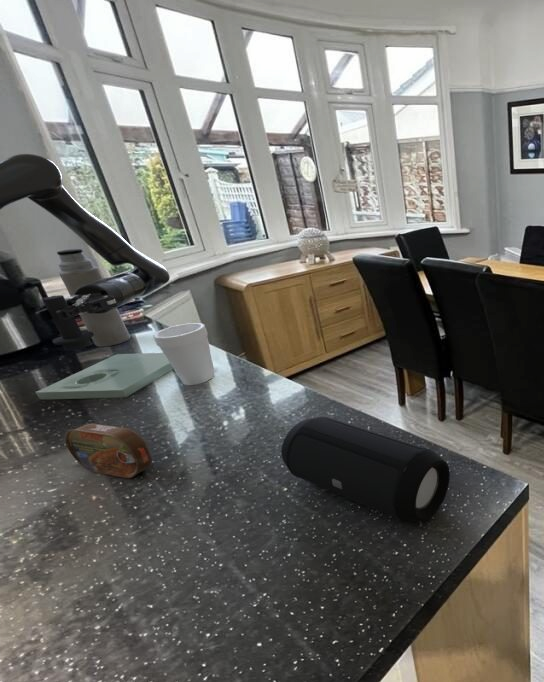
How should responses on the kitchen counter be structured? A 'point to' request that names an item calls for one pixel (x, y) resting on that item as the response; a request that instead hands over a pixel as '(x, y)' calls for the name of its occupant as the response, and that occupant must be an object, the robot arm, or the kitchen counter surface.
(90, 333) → the stopper
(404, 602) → the kitchen counter surface
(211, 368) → the foam cup
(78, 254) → the thermos bottle
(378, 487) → the portable speaker
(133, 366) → the plate
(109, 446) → the tin
